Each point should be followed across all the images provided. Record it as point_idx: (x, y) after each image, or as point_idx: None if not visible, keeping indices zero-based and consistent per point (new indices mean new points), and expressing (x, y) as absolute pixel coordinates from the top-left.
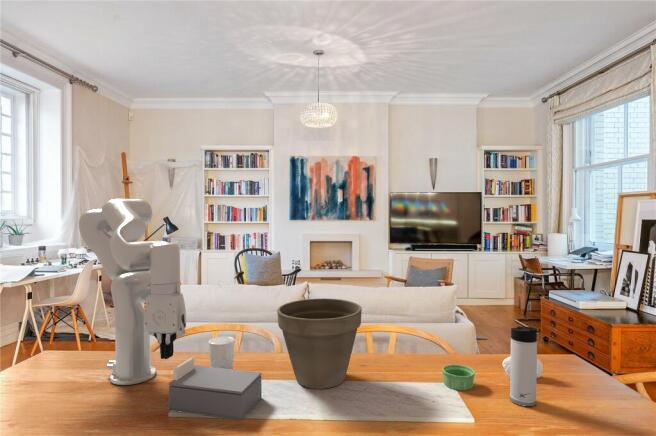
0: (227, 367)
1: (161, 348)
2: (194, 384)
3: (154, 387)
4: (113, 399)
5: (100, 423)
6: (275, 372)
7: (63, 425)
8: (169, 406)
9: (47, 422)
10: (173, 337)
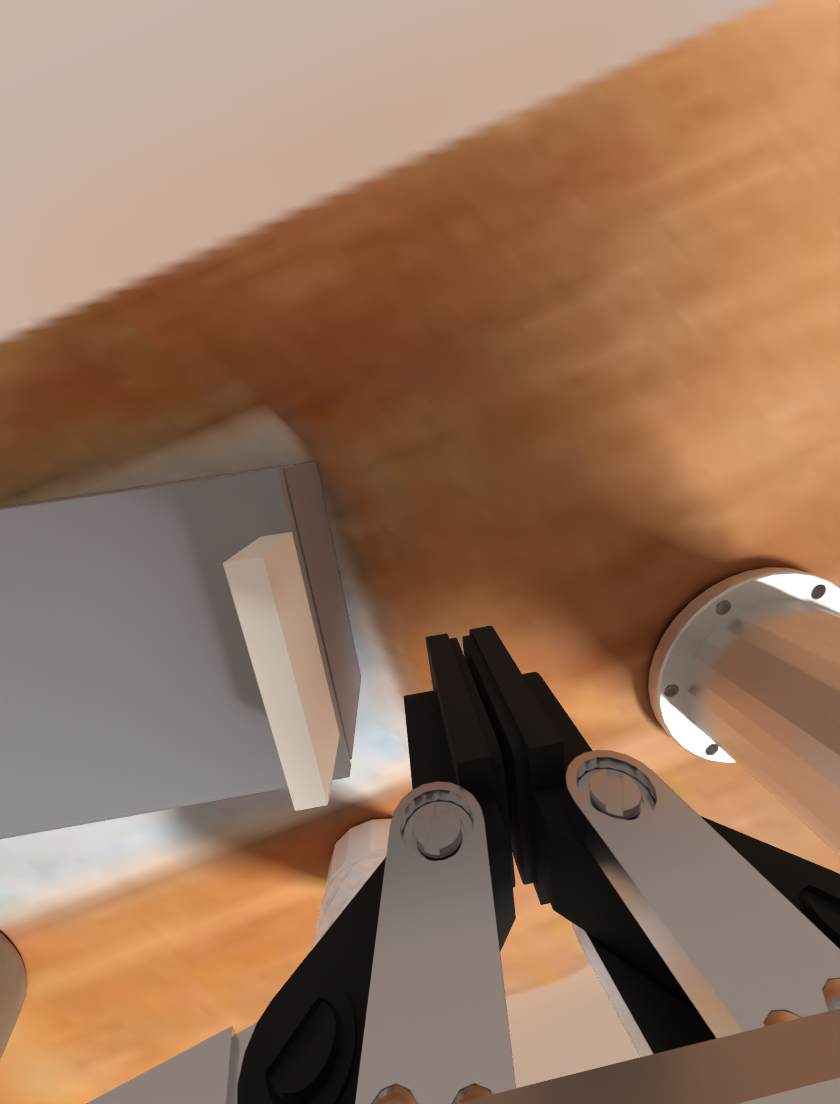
0: (328, 883)
1: (513, 695)
2: (64, 528)
3: (568, 621)
4: (674, 442)
5: (546, 195)
6: (148, 941)
7: (724, 91)
8: (309, 462)
9: (834, 84)
10: (311, 996)
